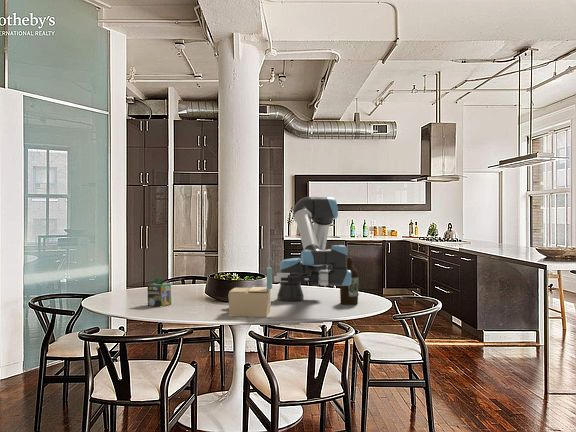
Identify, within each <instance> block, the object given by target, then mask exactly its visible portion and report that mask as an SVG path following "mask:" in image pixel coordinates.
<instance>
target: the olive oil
mask: <svg viewBox="0 0 576 432" xmlns="http://www.w3.org/2000/svg"><path fill="white" fill-rule="evenodd" d="M347 270H351V284H350V285H348V286H339V293H340V295H339V298H340V302H339V303H340V304H341V305H347V306H348V305H349V306H351V305H354V306H355V305H358V303H359V294H360V293H359V282H360V281H359V278H360V274H359V271H358V270H357V268H356V267H355V266H354V264H353V257H347Z"/></svg>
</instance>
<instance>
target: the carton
mask: <svg viewBox="0 0 576 432" xmlns="http://www.w3.org/2000/svg"><path fill="white" fill-rule="evenodd" d="M250 288H251V287H233V288H232V289H231V290H229V292H228V294H227V295H228V296H227V299H228V317H254V318H255V317H261V318H262V317H263V318H264V317H265V318H266V317H267V316H268V315H270V312H271V289H269V290H268V291H267V292H248V290H249V289H250Z"/></svg>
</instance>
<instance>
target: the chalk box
mask: <svg viewBox="0 0 576 432" xmlns="http://www.w3.org/2000/svg"><path fill="white" fill-rule="evenodd" d="M158 280H159V281H158ZM146 286H147V307H157V306H163V307H166V306H169V305H172V283H171V282H163V278H162V277H154V283H149V284H147V285H146Z"/></svg>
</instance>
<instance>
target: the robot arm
mask: <svg viewBox="0 0 576 432" xmlns="http://www.w3.org/2000/svg"><path fill="white" fill-rule="evenodd" d="M292 217H293V221H294V223H296V225H297V228H298V229H297V230H298V232H299V237H300V240H301V244H302V248H303V249H302V251H301V253H300V257H293V258H285V259H283V260H281V261H280V267H279V269H280V271H279V272H276V275H273V282H274V283H279V282H280V287H279V288H278V289H279V290H278V292H277V295H276V299H277V301H281V302H282V301H283V302H300V301H304V300H305V296H304V292H303V289H302V285H301V284H302V283H309V281H310V285H311V286H324V288H325V287H327V286H331V287H332V286H334V287H337V286H338V287H340V286H348V285H350V284H351V270H347V258H348V249H347V248H348V247H347V246H346V245H343V244H342V245H341V244H335V245H334V244H333V245H331V248H330V249H326V248H327V241H328V235H329V228H330V225H332V224H333V222H334V220H337V219H338V217H339V208H338V203H337V201H336V198H334V197H332V196H305V197H302V198H301V199H300V200H298V201H297V202H296V204H295V205H294V208H293V210H292ZM312 222H313V223H312ZM329 266H331V267H330V268H331V269H329Z"/></svg>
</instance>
